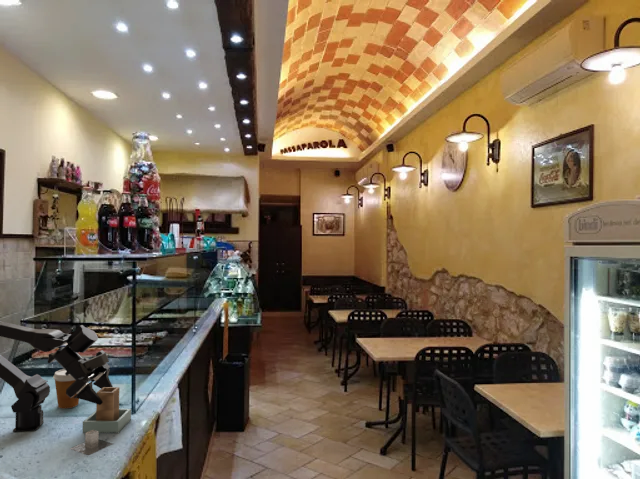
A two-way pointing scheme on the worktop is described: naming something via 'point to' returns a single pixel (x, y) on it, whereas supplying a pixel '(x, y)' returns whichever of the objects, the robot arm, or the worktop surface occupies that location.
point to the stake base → (90, 451)
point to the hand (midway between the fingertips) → (107, 398)
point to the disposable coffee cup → (64, 389)
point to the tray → (107, 423)
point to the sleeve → (108, 404)
